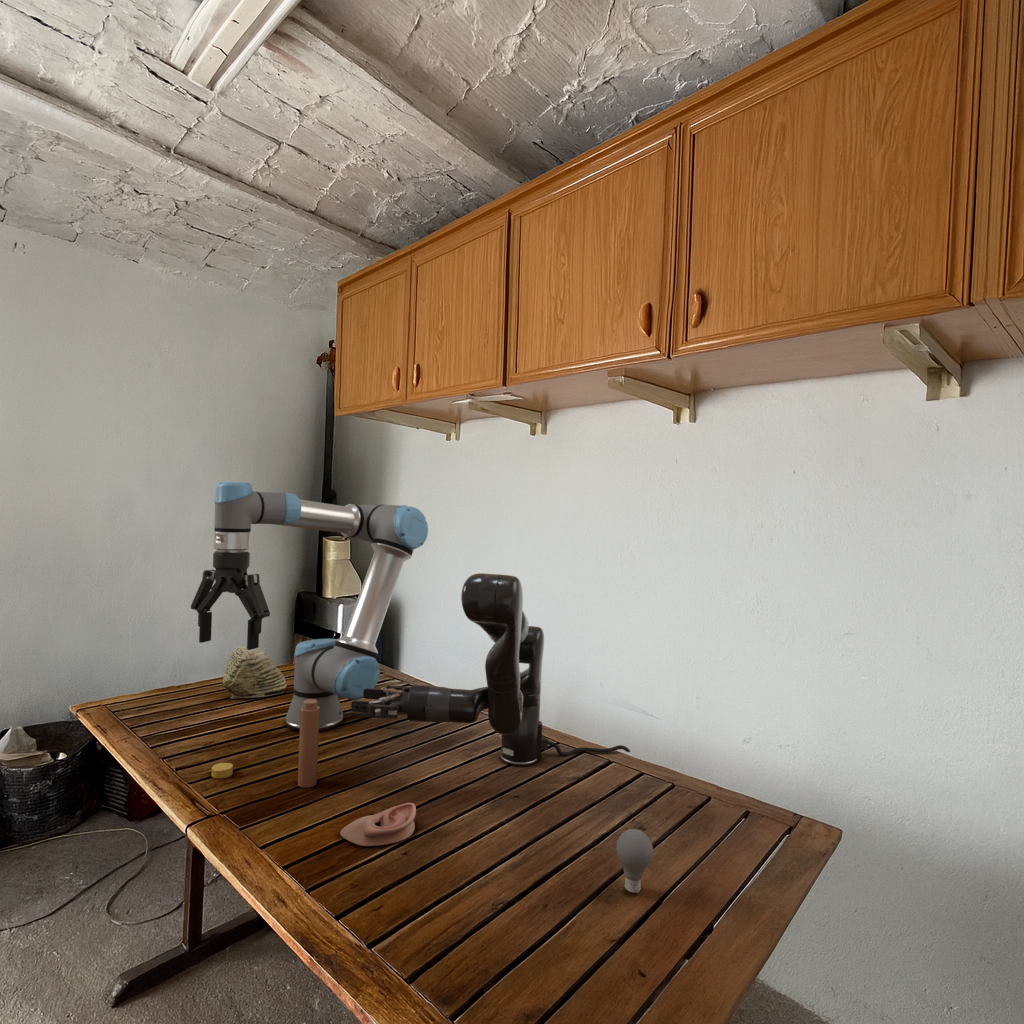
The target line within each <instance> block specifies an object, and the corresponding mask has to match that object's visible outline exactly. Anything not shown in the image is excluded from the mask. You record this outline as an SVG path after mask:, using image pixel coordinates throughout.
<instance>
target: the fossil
mask: <svg viewBox="0 0 1024 1024" xmlns="http://www.w3.org/2000/svg"><path fill="white" fill-rule="evenodd" d="M222 676H223V677H222V685H223V687H224V688H225V690H226V691H228V693H229V698H230V699H250V698H264V697H271V696H275V695H281V694H284V693H285V691H286V689H287V687H288V686H287V680H286V678H285V676H284V674H283V673H282V672H281V669H279V668H278V667H277V665H276V663H275V662H274V660H273V659H272V658H271V657H270V656H269V655H268V654H267V653H266V652H265V650H264V649H263V648H260V647H259V648H255V649H252V650H247V646H246V647H245V646H238V647H237V648H236V649H235V650H233V651H232V653H231V656H230V657H229V659H228V660H227V663H226V666H225V668H224V671H223V675H222Z"/></svg>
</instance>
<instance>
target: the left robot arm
mask: <svg viewBox="0 0 1024 1024" xmlns="http://www.w3.org/2000/svg"><path fill="white" fill-rule="evenodd" d="M214 495H215V496H214V501H213V502H214V531H213V549H214V550H216V551H214V552H213V553H212V554H213V555H212V567H213V568H214V569H205V570H204V571H203V572H202V579H201V581H200V583H199V586H198V588H197V591H196V593H195V595H194V597H193V600H192V602H191V604H190V609H191V610H194V611H196V613H197V626H198V627H199V631H198V632H199V634H198V635H199V636H198V643H199V644H200V643H201V644H203V643H207V642H211V641H212V626H213V625H212V621H213V612H212V610H211V608H212V607H213V606H214V604H215V603H216V602H217V600H218V599H219V598H220V597H221V596H222V595H223V593H230V594H235V596H237V597H238V599H239V600H240V602H241V604H242V605H243V607H244V609H245V611H246V612H247V614H248V615H249V617H250V618H249V619H248V620H247V633H246V634H247V638H246V647H247V650H252V649H257V648H260V647H259V643H260V635H261V633H262V626H263V625H262V623H263V619H264V618H268V617H270V615H271V612H270V609H269V606H268V603H267V600H266V598H265V597H266V596H265V595H264V591H263V589H262V586H261V582H260V580H261V579H260V574H259V573H253V574H252V573H251V574H248V569H249V567H250V565H251V564H250V562H251V560H250V559H251V553H250V552H249V550H250V549H251V532H252V525H275V526H283V527H291V528H301V529H307V530H315V531H322V532H333V533H340V534H341V535H342V536H343V537H345V538H354V539H357V540H361V541H364V542H368V543H371V544H370V545H371V548H372V549H373V554H372V558H371V561H370V563H369V565H368V569H367V572H366V574H365V577H364V579H363V582H362V585H361V587H360V591H359V593H358V597H357V599H356V602H355V603H354V604H355V605H354V607H353V610H352V612H351V613H352V614H351V615H350V619H349V621H348V624H347V626H346V629H345V632H344V635H342V636H341V637H339V638H317V639H308V640H304V641H300V642H299V643H297V645H296V646H295V650H294V655H293V657H294V672H293V673H294V674H293V695H292V696H293V697H292V699H291V702H290V704H289V708H288V711H287V713H286V715H285V726H286V728H287V729H289V730H291V731H294V732H295V731H296V732H300V708H301V707H303V701H305V700H308V699H315V700H317V701H318V703H317V706H319V707H320V712H319V732H325V731H329V730H332V729H335V728H337V727H339V726H340V725H342V723H343V722H344V716H345V717H347V716H349V717H350V716H355V717H356V716H361V717H369V712H368V713H367V712H343V709H342V706H341V702H340V699H339V698H341V699H345V700H346V699H347V700H351V701H354V700H357V701H358V700H361V699H363V698H364V697H363V692H364V689H365V688H373V689H375V687H376V686H377V684H378V682H379V679H380V676H381V670H380V664H379V662H378V661H377V659H378V654H379V651H378V649H377V647H376V643H377V641H378V637H379V635H380V631H381V629H382V627H383V623H384V620H385V617H386V614H387V611H388V609H389V606H390V603H391V600H392V597H393V594H394V592H395V588H396V585H397V583H398V580H399V577H400V574H401V572H402V568H403V565H404V562H406V561H408V560H410V559H412V556H413V553H414V550H416V549H418V548H420V547H421V546H423V545H424V544H425V543H426V540H427V538H428V534H429V525H428V522H427V520H426V516H425V514H424V513H423V511H421V510H420V509H419V508H417V507H414V506H408V505H406V504H402V505H397V504H380V503H379V504H355V503H348V504H346V505H338V504H332V503H326V502H320V501H313V500H307V499H301V498H299V496H298V495H297V494H295V493H293V492H291V493H290V492H286V491H285V492H284V491H283V492H279V491H278V492H277V491H276V492H275V491H254V489H253V484H252V483H251V482H241V481H220V482H218V483H217V484H216V488H215V494H214ZM378 714H380V713H378ZM402 714H406V713H405V712H403V713H402Z"/></svg>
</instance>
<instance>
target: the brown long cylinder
mask: <svg viewBox="0 0 1024 1024" xmlns="http://www.w3.org/2000/svg"><path fill="white" fill-rule="evenodd" d="M317 703H318V701H317V700H315V699H308V700H305V701H303V707H301V708H300V731H299V735H298V736H299V737H298V739H299V740H298V761H297V762H298V763H297V766H298V767H297V786H298V787H300V788H304V789H305V788H311V787H314V786H315V785H317V783H318V762H319V760H318V758H319V736H320V731H319V712H320V707H319V706H317Z"/></svg>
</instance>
